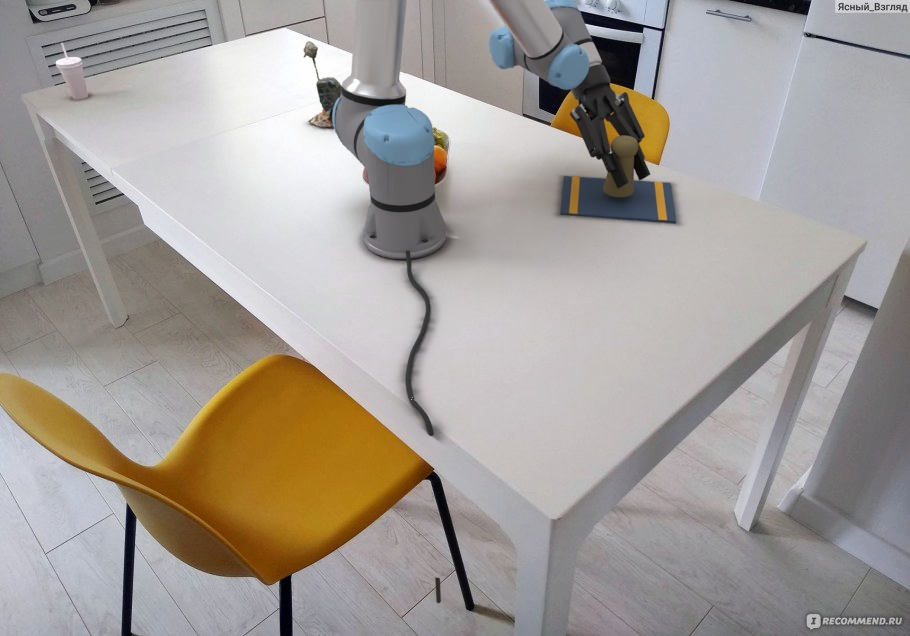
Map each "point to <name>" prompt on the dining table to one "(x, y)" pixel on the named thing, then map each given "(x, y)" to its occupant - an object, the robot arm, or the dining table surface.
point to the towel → (617, 200)
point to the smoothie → (73, 75)
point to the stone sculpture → (324, 91)
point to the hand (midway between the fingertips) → (634, 181)
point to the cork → (625, 153)
